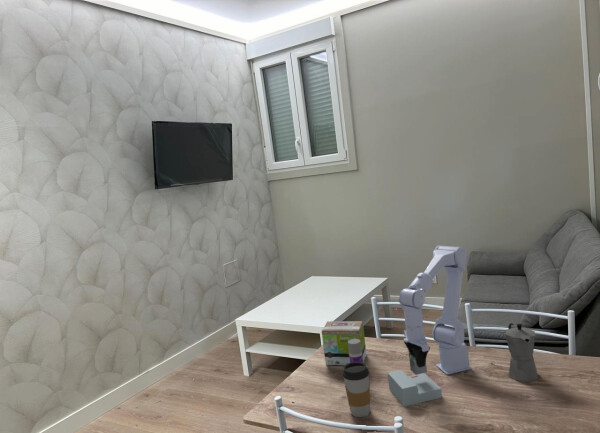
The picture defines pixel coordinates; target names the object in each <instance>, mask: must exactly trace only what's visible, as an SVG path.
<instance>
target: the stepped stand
mask: <svg viewBox="0 0 600 433" xmlns="http://www.w3.org/2000/svg"><path fill="white" fill-rule="evenodd" d="M387 381H388V389H389V390H390V391H391V393H392V394H393V395H394V396H395V397H396V399H397V400H398V401H399V402H400V403H401V404H402V405H401V406H403V407H409V406H413V405H416V404H417V405H418V404H421V403H425V402H430V401H433V400H437V399H441V398H443V394H442V388H441V387H440V386H439V385H438V384H437V383H436V382H435V381H434V380H432V379H431V378H430V376H428V375H427V374H426V373H422V374H417V375H415V374H413V375H412V374H411V375H407V374H406V372H405V371H403V370H402V369H397V370H394V371H393V370H392V371H389V372H387Z"/></svg>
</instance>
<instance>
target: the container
mask: <svg viewBox="0 0 600 433" xmlns="http://www.w3.org/2000/svg"><path fill="white" fill-rule="evenodd" d="M348 349H349V358H350V363H351V362H362V363H363V356H362V349H361V342H360V340H359V339H351V340H349V341H348Z"/></svg>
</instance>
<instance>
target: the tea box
mask: <svg viewBox="0 0 600 433" xmlns="http://www.w3.org/2000/svg"><path fill="white" fill-rule="evenodd" d="M364 328H365V327H364V322H363V321H361V320H359V321H358V320H356V321H355V320H354V321H353V320H352V321H351V320H349V321H348V320H347V321H341V320H340V321H337V320H336V321H332V320H331V321H326V323H325V324H324V327H323V328H322V330H321V336H322V337H321V338H322V345H323V352H324V353H323V354H324V362H325V365H326V366H345V365H346V364H348V363H350V358H349V349H348V341H349V340H351V339H359V340H360V342H361V349H362V356H363V363H364V364H365V360H366V356H367V349H366V346H367V345H366V340H365V339H366V338H365V329H364Z"/></svg>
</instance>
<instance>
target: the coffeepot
mask: <svg viewBox="0 0 600 433" xmlns="http://www.w3.org/2000/svg"><path fill="white" fill-rule="evenodd" d="M522 326H523V324H522V323H516V324H514V323H512V322H510V323H509V325H508V326H507V327H508V328H507V329H505V338H506V343H507V347H508V351H509V354H510V356H509V357H510V360H509V370H508V377H510V378H511V379H512V380H515V381H517V382H522V383H523V382H524V383H530V382H533V381H536V380H538V379H539V378H538V370H537V366H536V363H535V359H534V348H535V338H536V337H535V336H536V334H535V333H536V332H535V330H532V329H530V328H527V327H522Z"/></svg>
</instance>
